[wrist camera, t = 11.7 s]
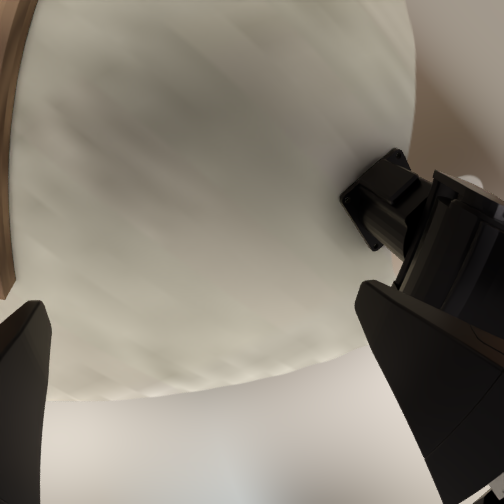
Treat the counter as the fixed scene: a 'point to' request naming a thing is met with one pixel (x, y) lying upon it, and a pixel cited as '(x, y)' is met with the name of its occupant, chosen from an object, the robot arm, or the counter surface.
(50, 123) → the counter surface
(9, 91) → the bay
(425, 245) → the robot arm
